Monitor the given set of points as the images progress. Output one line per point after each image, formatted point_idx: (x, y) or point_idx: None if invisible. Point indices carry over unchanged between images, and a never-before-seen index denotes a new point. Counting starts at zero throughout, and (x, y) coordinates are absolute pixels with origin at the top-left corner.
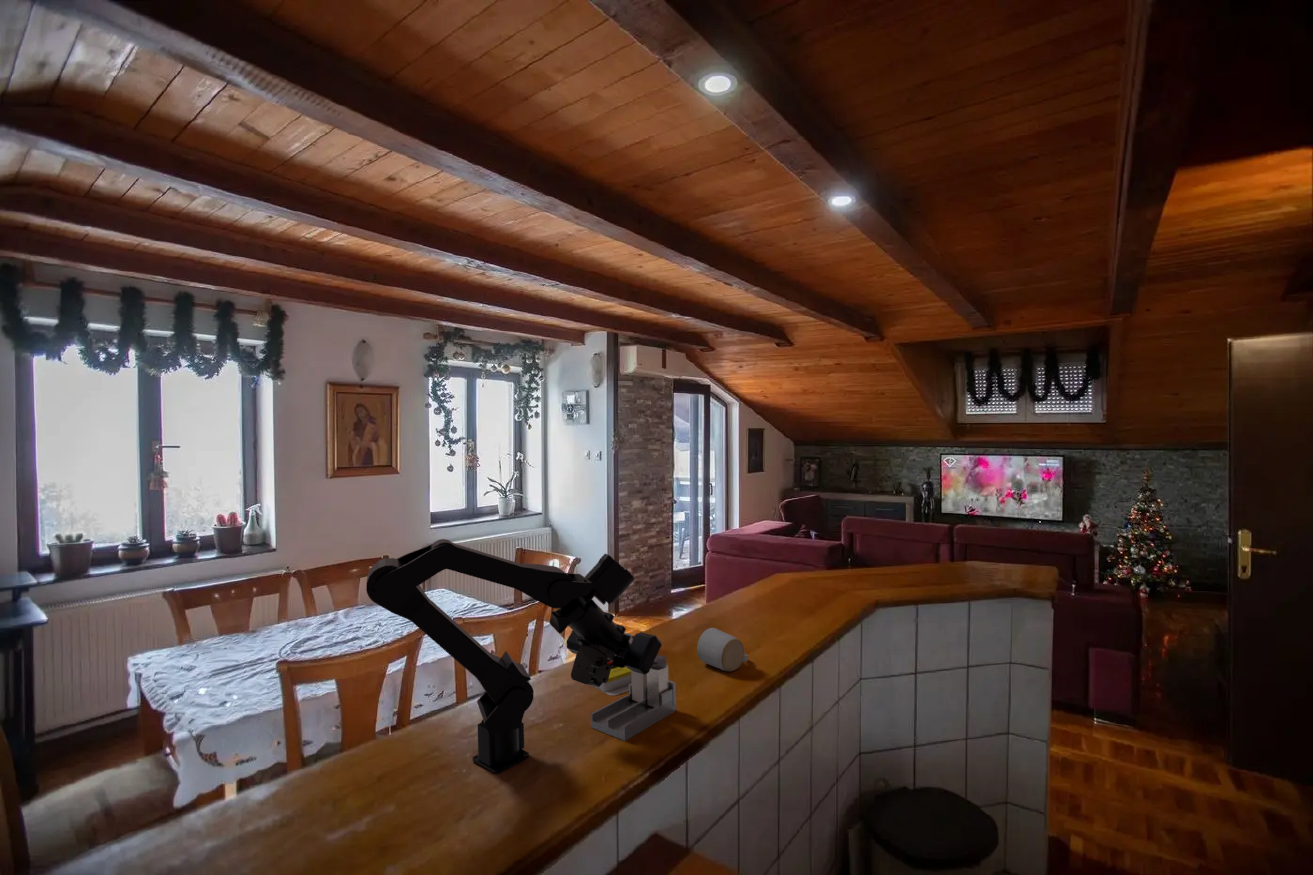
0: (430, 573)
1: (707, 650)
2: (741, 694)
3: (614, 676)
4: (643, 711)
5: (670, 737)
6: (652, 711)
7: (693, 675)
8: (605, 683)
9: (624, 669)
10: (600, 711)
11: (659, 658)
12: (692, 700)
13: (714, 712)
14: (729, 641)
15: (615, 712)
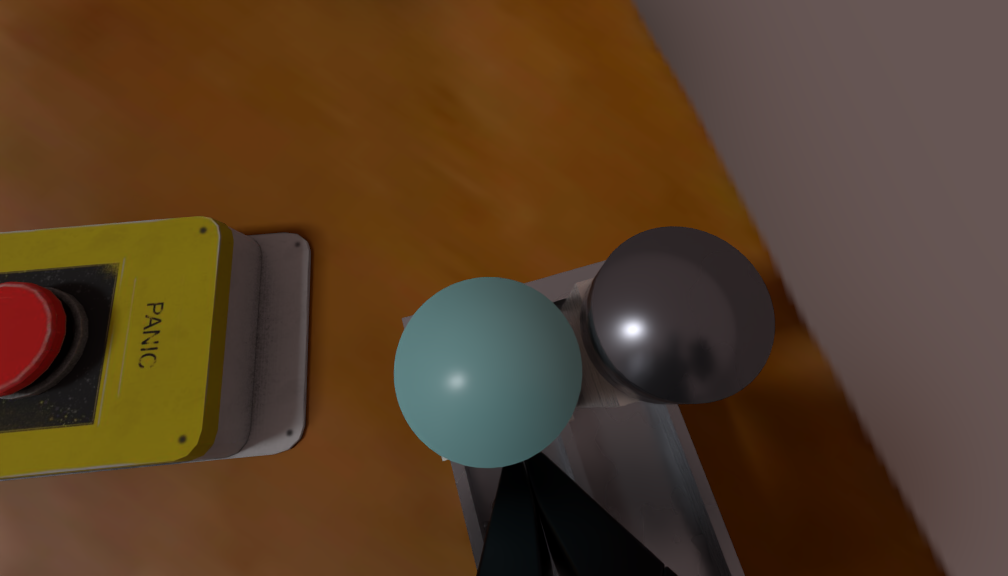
0: None
1: None
2: (631, 31)
3: (204, 394)
4: (601, 454)
5: (813, 455)
6: (697, 458)
7: (378, 56)
8: (207, 453)
9: (170, 296)
10: None
11: (693, 292)
12: (569, 188)
13: (706, 186)
14: None
15: None
